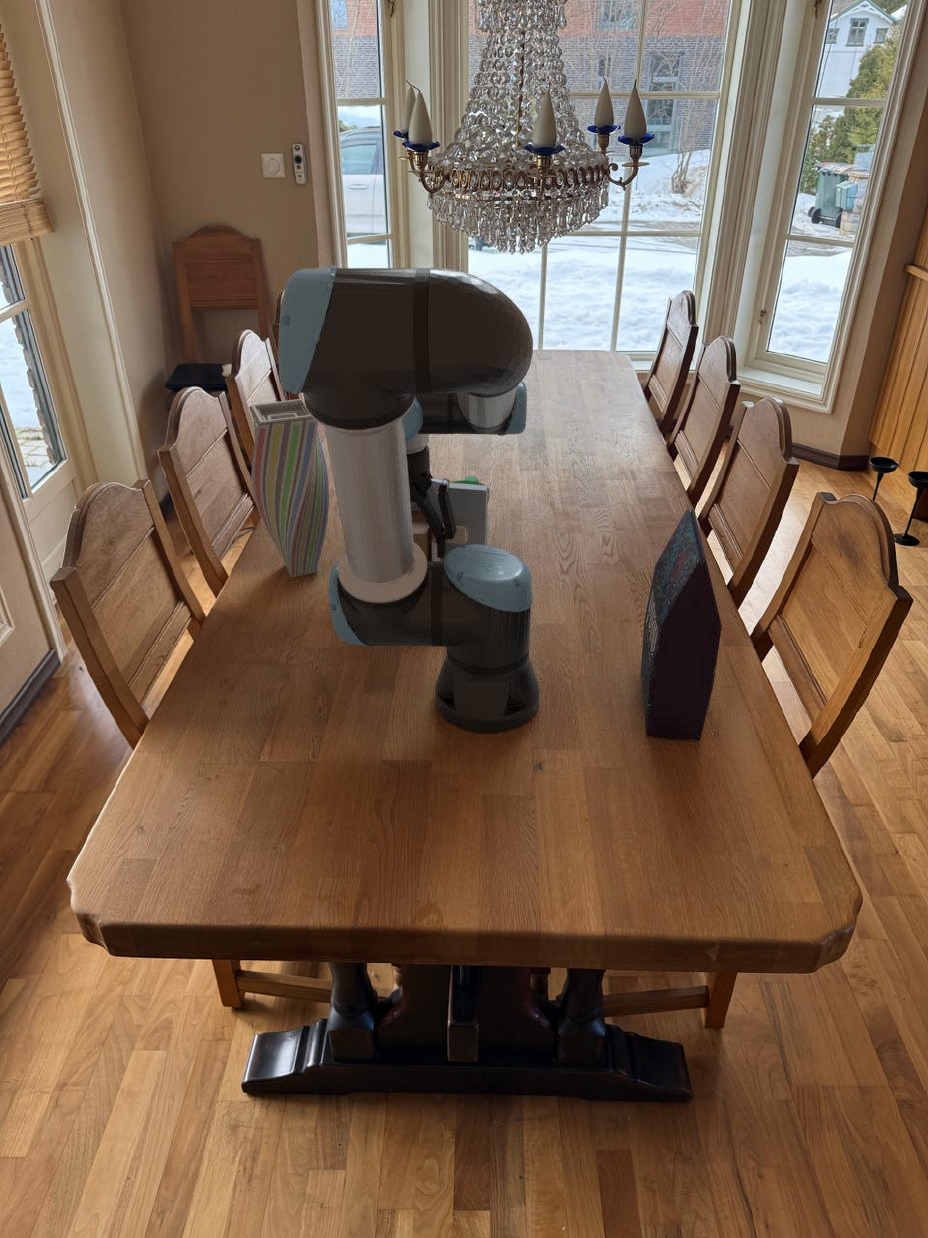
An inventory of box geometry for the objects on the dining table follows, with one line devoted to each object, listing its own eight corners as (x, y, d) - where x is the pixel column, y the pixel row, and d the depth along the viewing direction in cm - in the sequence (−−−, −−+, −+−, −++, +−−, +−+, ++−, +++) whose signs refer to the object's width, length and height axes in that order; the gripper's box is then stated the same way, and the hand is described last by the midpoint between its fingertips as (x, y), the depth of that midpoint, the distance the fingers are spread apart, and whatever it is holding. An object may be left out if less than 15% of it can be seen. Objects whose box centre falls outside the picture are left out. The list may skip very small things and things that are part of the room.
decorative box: (642, 739, 120) (668, 560, 105) (637, 669, 134) (659, 502, 119) (703, 743, 119) (738, 564, 104) (691, 673, 133) (720, 505, 118)
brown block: (426, 588, 148) (424, 536, 142) (386, 584, 149) (382, 533, 143) (437, 561, 155) (436, 511, 149) (399, 558, 156) (396, 508, 150)
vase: (328, 546, 167) (313, 392, 151) (346, 579, 157) (332, 418, 141) (257, 558, 163) (234, 402, 147) (271, 593, 153) (247, 429, 136)
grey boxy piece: (482, 591, 153) (483, 497, 143) (350, 578, 157) (343, 486, 147) (492, 562, 162) (493, 471, 152) (367, 550, 166) (361, 461, 156)
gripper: (475, 441, 139) (475, 565, 151) (347, 432, 142) (357, 554, 155) (467, 459, 133) (467, 587, 145) (333, 449, 136) (344, 575, 148)
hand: (410, 570), depth 150 cm, fingers open, 8 cm apart
